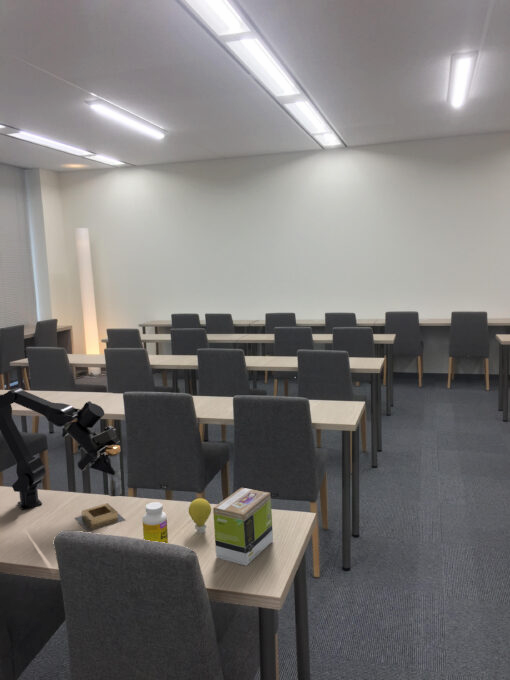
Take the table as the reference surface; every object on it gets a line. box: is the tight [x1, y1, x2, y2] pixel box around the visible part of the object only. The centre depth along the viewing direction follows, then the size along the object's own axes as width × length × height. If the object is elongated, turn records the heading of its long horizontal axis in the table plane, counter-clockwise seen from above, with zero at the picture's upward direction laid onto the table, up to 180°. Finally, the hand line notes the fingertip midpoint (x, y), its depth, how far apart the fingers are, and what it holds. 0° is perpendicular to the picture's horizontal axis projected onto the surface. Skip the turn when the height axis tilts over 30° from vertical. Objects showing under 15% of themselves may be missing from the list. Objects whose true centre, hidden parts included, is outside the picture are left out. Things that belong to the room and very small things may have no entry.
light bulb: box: [188, 498, 212, 534], centre depth 163 cm, size 7×7×10 cm
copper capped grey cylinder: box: [105, 444, 123, 497], centre depth 177 cm, size 5×5×16 cm
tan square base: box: [74, 503, 126, 533], centre depth 172 cm, size 12×12×3 cm
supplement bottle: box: [142, 501, 169, 544], centre depth 153 cm, size 7×7×13 cm
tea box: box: [212, 486, 274, 567], centre depth 151 cm, size 15×10×15 cm
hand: (117, 471), depth 176 cm, fingers closed on copper capped grey cylinder, 4 cm apart
